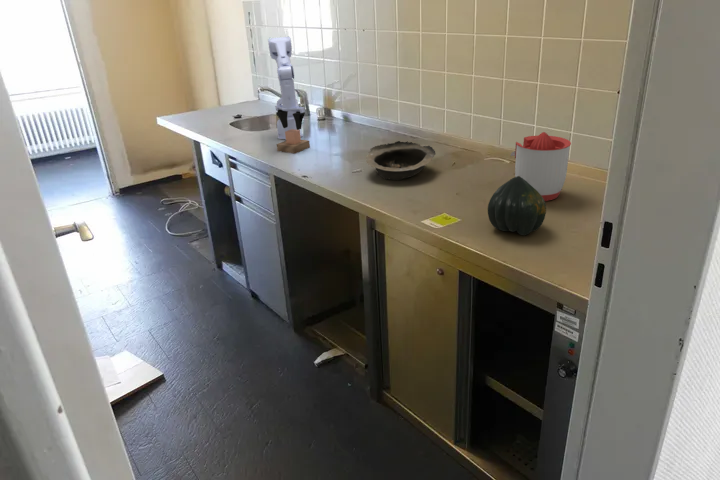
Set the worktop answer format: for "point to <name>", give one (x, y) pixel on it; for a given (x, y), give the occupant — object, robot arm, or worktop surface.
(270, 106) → the worktop surface
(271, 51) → the robot arm
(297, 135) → the terracotta cube
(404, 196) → the worktop surface
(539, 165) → the citrus juicer
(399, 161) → the stone bowl
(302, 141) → the walnut block
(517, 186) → the squash
